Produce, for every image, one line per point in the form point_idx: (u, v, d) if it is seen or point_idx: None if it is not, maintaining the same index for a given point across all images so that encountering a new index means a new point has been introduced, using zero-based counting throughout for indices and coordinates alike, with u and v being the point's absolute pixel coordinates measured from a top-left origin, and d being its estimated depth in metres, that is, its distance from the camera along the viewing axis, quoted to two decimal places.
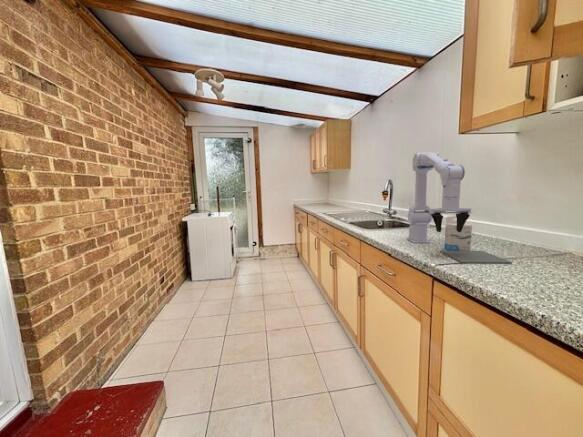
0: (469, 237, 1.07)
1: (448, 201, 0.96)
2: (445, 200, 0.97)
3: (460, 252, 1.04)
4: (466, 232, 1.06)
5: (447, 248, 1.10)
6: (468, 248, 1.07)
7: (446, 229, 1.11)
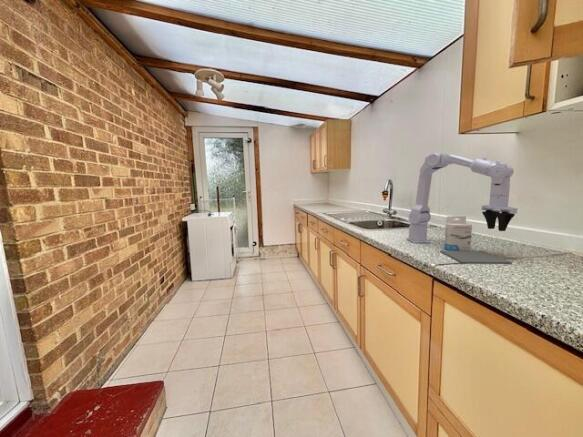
0: (469, 237, 1.07)
1: None
2: None
3: (460, 252, 1.04)
4: (466, 232, 1.06)
5: (447, 248, 1.10)
6: (468, 248, 1.07)
7: (446, 229, 1.11)
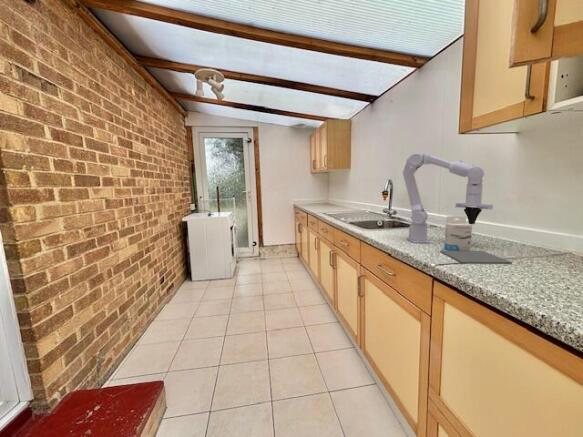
0: (469, 237, 1.07)
1: (466, 197, 1.14)
2: (466, 196, 1.15)
3: (460, 252, 1.04)
4: (466, 232, 1.06)
5: (447, 248, 1.10)
6: (468, 248, 1.07)
7: (446, 229, 1.11)
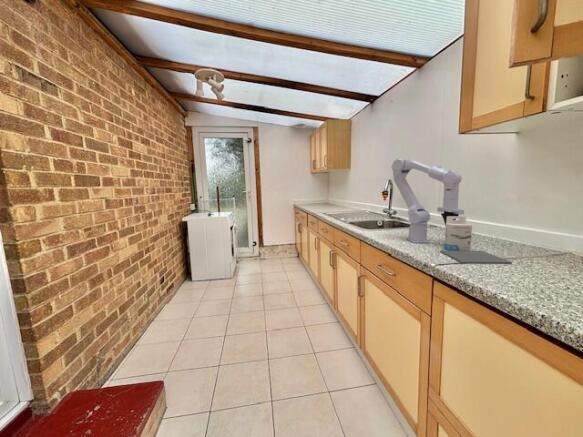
0: (469, 237, 1.07)
1: (443, 202, 1.16)
2: None
3: (460, 252, 1.04)
4: (466, 232, 1.06)
5: (447, 248, 1.10)
6: (468, 248, 1.07)
7: (446, 229, 1.11)
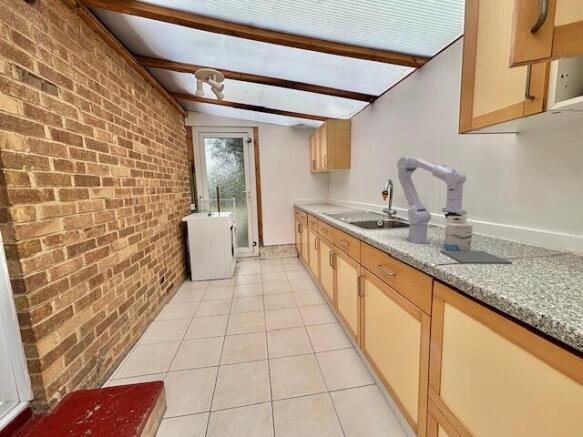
0: (469, 237, 1.06)
1: None
2: None
3: (460, 252, 1.04)
4: (466, 232, 1.06)
5: (447, 248, 1.10)
6: (468, 248, 1.07)
7: (446, 229, 1.10)
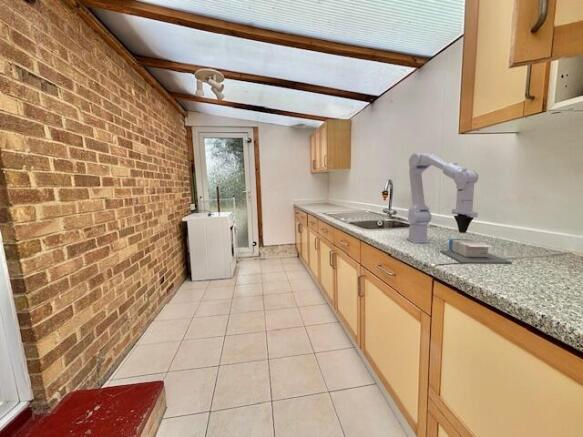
0: None
1: None
2: None
3: None
4: None
5: (449, 245, 1.08)
6: None
7: (461, 246, 0.99)
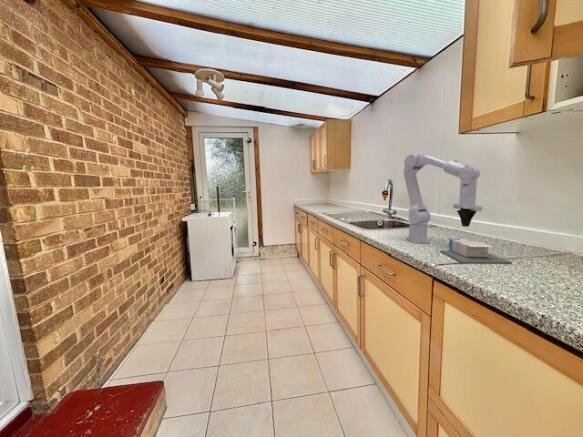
0: None
1: (459, 198, 1.10)
2: None
3: None
4: None
5: (449, 245, 1.08)
6: None
7: (461, 246, 0.99)
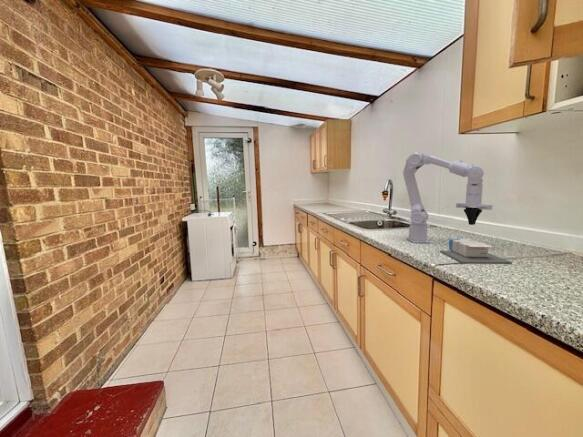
0: None
1: (466, 197, 1.13)
2: (466, 196, 1.14)
3: None
4: None
5: (449, 245, 1.08)
6: None
7: (461, 246, 0.99)
